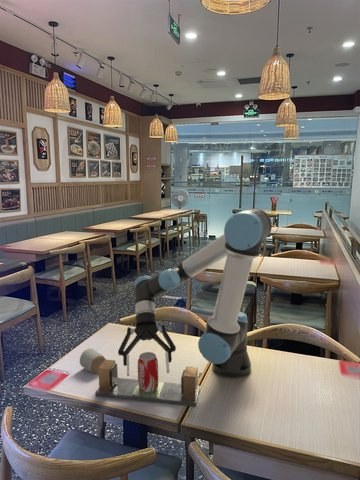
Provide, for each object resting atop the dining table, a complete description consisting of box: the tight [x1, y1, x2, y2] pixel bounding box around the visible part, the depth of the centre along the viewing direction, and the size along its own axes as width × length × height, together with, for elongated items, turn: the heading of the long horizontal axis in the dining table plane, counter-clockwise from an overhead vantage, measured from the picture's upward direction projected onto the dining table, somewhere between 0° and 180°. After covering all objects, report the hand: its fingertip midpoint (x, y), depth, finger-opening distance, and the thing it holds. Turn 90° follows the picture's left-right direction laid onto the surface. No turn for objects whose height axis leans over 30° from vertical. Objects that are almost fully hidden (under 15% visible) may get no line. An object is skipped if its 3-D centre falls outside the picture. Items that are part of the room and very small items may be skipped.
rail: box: [95, 359, 201, 408], centre depth 122 cm, size 35×10×10 cm, turn 80°
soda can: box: [137, 351, 159, 392], centre depth 122 cm, size 7×7×12 cm
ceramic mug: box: [79, 348, 108, 374], centre depth 140 cm, size 11×8×8 cm
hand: (148, 373), depth 120 cm, fingers open, 13 cm apart
